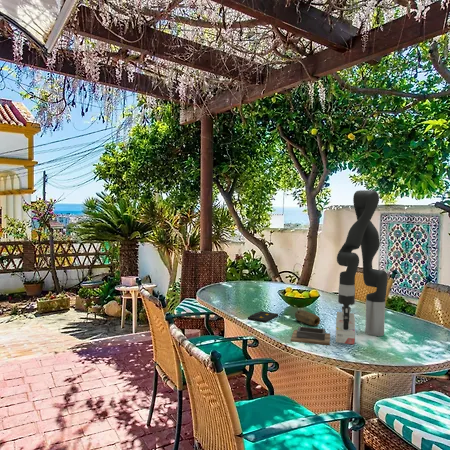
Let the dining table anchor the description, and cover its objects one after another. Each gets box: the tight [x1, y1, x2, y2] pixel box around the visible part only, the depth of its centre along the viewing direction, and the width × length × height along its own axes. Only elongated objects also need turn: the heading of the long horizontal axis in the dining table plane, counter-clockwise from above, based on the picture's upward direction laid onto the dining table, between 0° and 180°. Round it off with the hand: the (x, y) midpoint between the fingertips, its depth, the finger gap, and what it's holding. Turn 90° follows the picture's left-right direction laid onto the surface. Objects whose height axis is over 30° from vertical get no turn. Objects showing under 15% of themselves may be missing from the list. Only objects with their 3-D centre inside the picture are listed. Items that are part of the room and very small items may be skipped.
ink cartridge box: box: [335, 311, 356, 345], centre depth 187 cm, size 9×5×15 cm, turn 68°
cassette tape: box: [247, 310, 279, 323], centre depth 228 cm, size 18×12×2 cm, turn 149°
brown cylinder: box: [294, 309, 321, 327], centre depth 218 cm, size 15×7×7 cm, turn 37°
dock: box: [290, 326, 331, 346], centre depth 191 cm, size 16×18×4 cm
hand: (345, 327), depth 187 cm, fingers open, 8 cm apart
